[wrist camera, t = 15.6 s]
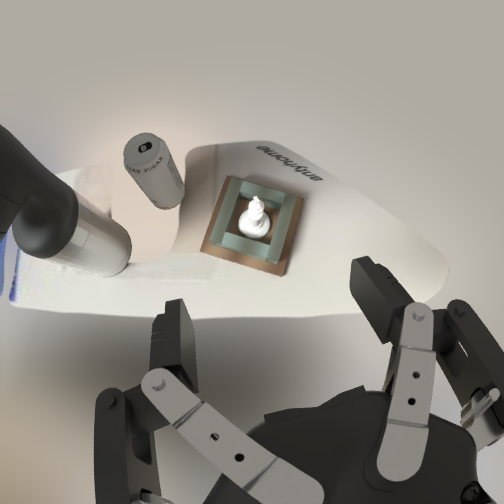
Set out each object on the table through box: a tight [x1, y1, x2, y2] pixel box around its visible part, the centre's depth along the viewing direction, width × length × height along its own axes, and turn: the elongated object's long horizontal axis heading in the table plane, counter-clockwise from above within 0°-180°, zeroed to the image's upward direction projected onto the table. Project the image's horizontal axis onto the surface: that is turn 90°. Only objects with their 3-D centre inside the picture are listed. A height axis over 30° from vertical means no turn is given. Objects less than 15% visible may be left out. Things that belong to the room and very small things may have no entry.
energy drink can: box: [123, 133, 185, 210], centre depth 39 cm, size 6×6×15 cm
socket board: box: [200, 176, 304, 277], centre depth 44 cm, size 13×13×4 cm
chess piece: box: [238, 196, 270, 240], centre depth 40 cm, size 5×5×10 cm
